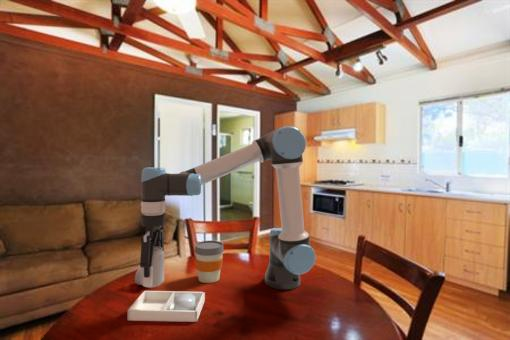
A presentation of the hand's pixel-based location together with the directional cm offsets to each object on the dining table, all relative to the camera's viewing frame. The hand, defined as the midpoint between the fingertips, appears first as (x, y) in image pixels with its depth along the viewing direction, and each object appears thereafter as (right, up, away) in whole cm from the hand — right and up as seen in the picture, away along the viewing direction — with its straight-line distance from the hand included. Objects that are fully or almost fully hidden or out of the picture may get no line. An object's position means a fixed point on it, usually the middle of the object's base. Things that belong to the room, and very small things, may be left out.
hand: (152, 280), depth 93 cm
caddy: (+5, -11, 0) cm, 12 cm away
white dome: (+11, -10, 0) cm, 15 cm away
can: (0, -1, 0) cm, 1 cm away
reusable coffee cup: (+15, -10, +27) cm, 33 cm away
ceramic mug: (-9, -10, +21) cm, 25 cm away
